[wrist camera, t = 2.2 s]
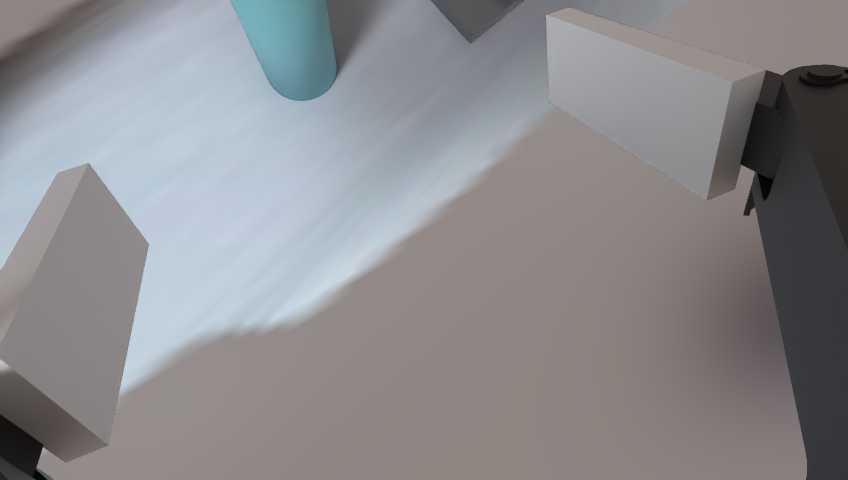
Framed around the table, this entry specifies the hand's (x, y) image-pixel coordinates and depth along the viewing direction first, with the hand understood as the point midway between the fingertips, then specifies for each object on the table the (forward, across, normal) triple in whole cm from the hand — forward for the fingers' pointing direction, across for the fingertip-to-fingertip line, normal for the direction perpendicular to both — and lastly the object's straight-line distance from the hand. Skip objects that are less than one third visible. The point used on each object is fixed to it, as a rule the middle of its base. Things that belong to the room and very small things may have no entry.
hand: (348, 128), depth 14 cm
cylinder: (+18, 0, -3) cm, 19 cm away
